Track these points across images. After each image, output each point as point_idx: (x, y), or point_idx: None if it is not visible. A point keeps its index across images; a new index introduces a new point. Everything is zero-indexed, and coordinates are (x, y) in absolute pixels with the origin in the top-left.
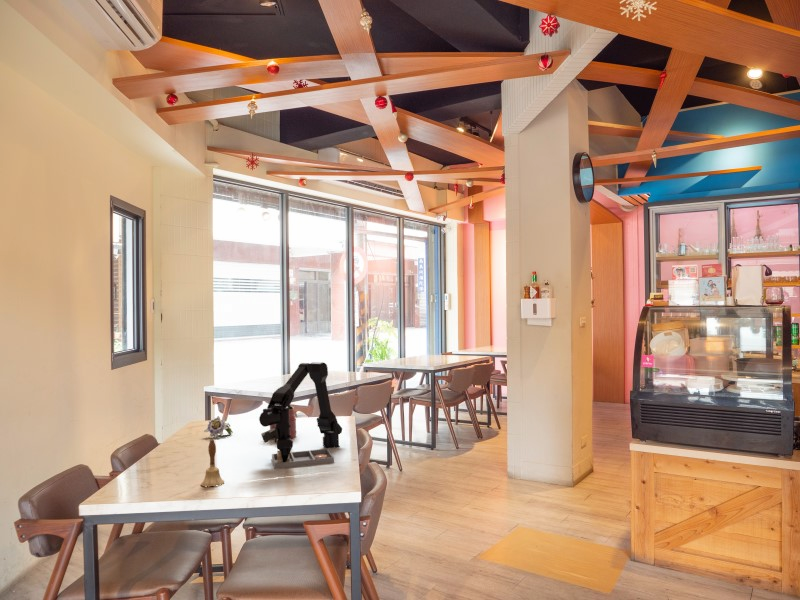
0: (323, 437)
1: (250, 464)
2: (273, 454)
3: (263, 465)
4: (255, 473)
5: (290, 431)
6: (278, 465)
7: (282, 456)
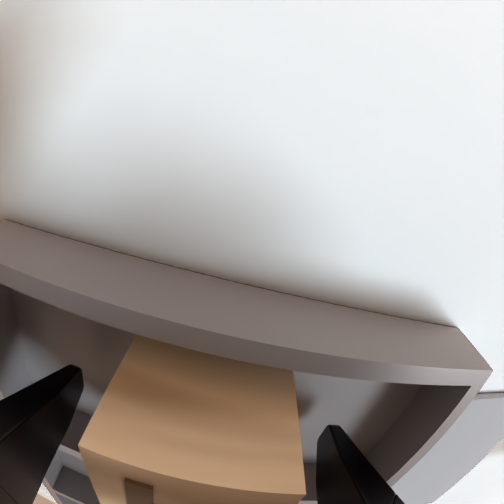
0: None
1: (457, 39)
2: (464, 385)
3: (299, 147)
4: (5, 14)
5: None
6: None
7: (3, 405)
